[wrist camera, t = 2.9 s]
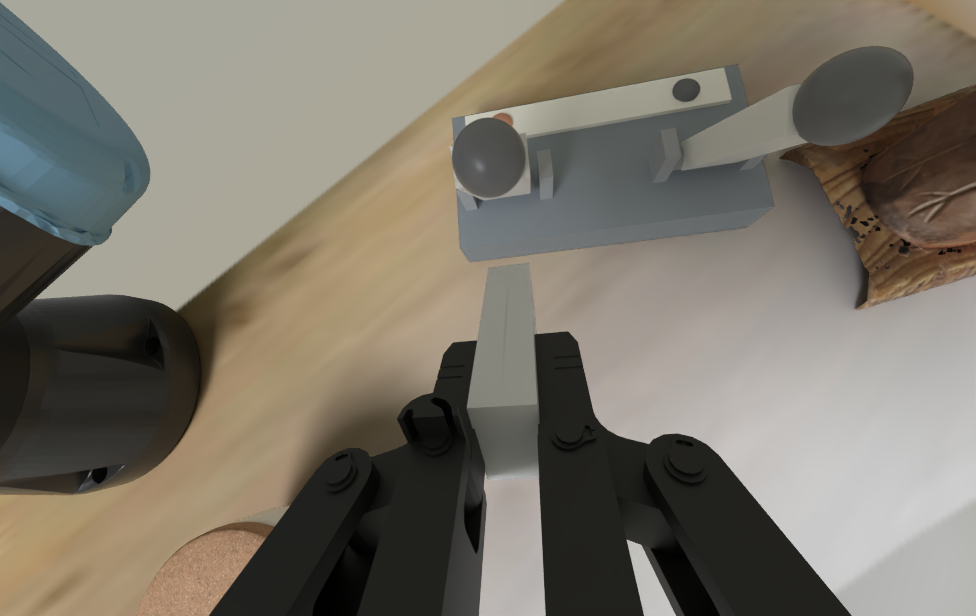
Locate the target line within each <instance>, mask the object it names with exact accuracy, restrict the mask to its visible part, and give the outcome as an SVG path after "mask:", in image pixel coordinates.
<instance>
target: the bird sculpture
mask: <svg viewBox="0 0 976 616" xmlns="http://www.w3.org/2000/svg"><path fill="white" fill-rule="evenodd" d="M864 150H869V151H866V152H864ZM877 153H878V154H877ZM875 154H877V155H875ZM872 155H874V156H873V157H872V158H869V156H872ZM780 159H783V160H791V161H794V162H796V163H799V164H801V165H804V166H807V167H809V168H811V169H812V170H813V171H814V174H815V176H816V177H818V178H820V183H821V186H822V188H823V190H824V191H825V192H826V195H827V196H828V199H829V200H830V202H831V205H832V206H833V208H834V211H835V212H836V213H837V214H838V215H840V216H839V218H840V220H841V221H840V222H841V223H842V224H843V225H844V228H847V227H849V226H853V228H854V230H857V231H858V232H859V234H860V235H859V236H862V234H865V235H866V237H865V238H864V239H863V238H859V237H858V238H857V239H859V240H860V241H861V242H860V243H857V242H856V241H854V243H856V245H854V246H855V247H856V249H857V251H859V255H860V258H861V260H862V262H863V265H864V267H866V269H867V270H868V271H869V283H868V294H867V301H866V302H865V303H864V304H862V305H861V306H860V307H859V308H857V309H856V310H860V309H864V308H868V307H871V306H874V305H877V304H880V303H883V302H887V301H890V300H894V299H897V298H900V297H904V296H907V295H911V294H914V293H918V292H920V291H923V290H927V289H930V288H933V287H937V286H940V285H944V284H947V283H951V282H954V281H958V280H961V279H964V278H966V277H969V276H973V275H976V85H973V86H970V87H967V88H964V89H960V90H958V91H956V92H954V93H950V94H948V95H945V96H943V97H940V98H937V99H935V100H932V101H929V102H926V103H924V104H921V105H918V106H916V107H913V108H911V109H908V110H905V111H903V112H900V113H897V115H896V116H895V117H894V118H893V119H891V120H890V121H889V122H888V123H887V124H886V125H884V126H883V127H882V128H880V129H879V130H877V131H876V132H874V133H872V134H871V135H869V136H867V137H864V138H862V139H860V140H857V141H854V142H851V143H848V144H843V145H837V146H821V145H816V144H812V143H810V144H807V145H804V146H802V147H799V148H796V149H793V150H790V151H788V152H786V153H785V154H784V155H783V156H782V157H780ZM866 163H868V164H867V166H865V167H863V168H864V170H860V167H861V166H864V165H865V164H866ZM837 201H839V202H840V205H841V204H842V205H843V207H844V210H842V209H841V208H840V205H836V204H835V202H837ZM867 201H868V202H867ZM849 205H851V207H852V211H851V212H852V213H851V214H850V215H849V216H850V217H849V218H845V217H844V216H845V215H846V212H847V207H848V206H849ZM855 207H856V208H859V209H858V210H856V208H855ZM849 212H850V211H849ZM874 215H877V216H878V217H879V218H878V219H875V218H876V217H874ZM852 217H856V218H857V219H858V221H856V223H855V224H851V221H852V219H853V218H852ZM842 218H844V220H843V219H842ZM867 218H869V219H870V218H874V220H873V221H870V220H867ZM860 221H862V222H863V221H867V222H868V223H869V226H867V227H866V226H864V225H862V224H861V223H860ZM874 225H876V227H877V226H879V227H880V228H881V231H875V229H876V227H873V226H874ZM868 231H871V232H869V233H868ZM853 239H854V238H853ZM901 239H904V240H905V241H906V242H907V243H908V242H909V243H910V244H911V245H910V246H908V247H906V246H904V245H903V241H902V240H901ZM854 240H855V239H854ZM889 244H893V246H892V247H889ZM966 244H967V245H966ZM961 245H965V246H961ZM947 248H952V249H954V250H958V249H960V251H959V252H957V251H955V252H954V251H953V252H952V253H951V252H947ZM940 251H943V255H938V254H939V252H940ZM876 266H877V267H878V269H877V268H876ZM886 267H887V269H886Z"/></svg>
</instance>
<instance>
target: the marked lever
mask: <svg viewBox="0 0 976 616" xmlns="http://www.w3.org/2000/svg"><path fill="white" fill-rule="evenodd" d="M450 151H451V158H452V165H453V171H454V178H455V185H456V189H459V190H461V191H463V192H466V193H468V194H470V195H473V196H475V197H477V198H479V199H480V200H491V199H498V198H504V197H511V196H517V195H524V194H530V192H535V185H534V175H533V168H532V169H530V167H529V157H528V147H527V137H526V132H525V133H519V134H518V132H517V131H516V130H515V129H514V128H513V127H512V126H511V125H510V124H508V123H507V122H505V121H503V120H500V119H497V118H488V117H487V118H481V119H477V120H475V121H473V122H471V123H469V124H468V125H467V126H466V127H465V128H464V129H463V130H462V131H461V132H460V133H459V135H458V137H457V138H456V140H455V143H454V145H452V146H450Z"/></svg>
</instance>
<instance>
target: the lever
mask: <svg viewBox="0 0 976 616" xmlns="http://www.w3.org/2000/svg"><path fill="white" fill-rule="evenodd" d="M913 78H914V76H913V69H912V66H911V64H910V62H909V61H908V59H907V58H906V57H905V56H904V55H903V54H901V53H900V52H898V51H896V50H894V49H891V48H888V47H881V46H869V47H861V48H857V49H853V50H850V51H847V52H844V53H842V54H840V55H837V56H836V57H834V58H832V59H830V60H828V61H827V62H825V63H824V64H822V65H821V66H820V67H818V68H817V69H816V70H815V71H814V72H812V73H811V74H810V75H809V76H808V77H807V79H806V80H805V81H804V82H803V83H802V84H796V85H791V86H788V87H786V88H784V89H782V90H780V91H778V92H776V93H774V94H772V95H770V96H768V97H766V98H765V99H763V100H761V101H759V102H757V103H755V104H753V105H751V106H749V107H747V108H745V109H743V110H742V111H740V112H738V113H736V114H734V115H732V116H730V117H728V118H726V119H724V120H722V121H720V122H719V123H717V124H715V125H713V126H711V127H709V128H707V129H705V130H703V131H701V132H699V133H698V134H696V135H694V136H692V137H690V138H688V139H686V140H684V141H682V142H681V145H679V147H680V152H681V157H680V159H679V161H678V162H677V164H676V166H675V167H674V169H673V171H674V170H681V171H683V170H690V169H696V168H703V167H710V166H716V165H723V164H729V163H736V162H740V161H743V160H747V159H750V158H754V157H757V156H761V155H764V154H768V153H771V152H775V151H778V150H782V149H785V148H789V147H793V146H796V145H800V144H803V143H807V142H809V143H812V144H816V145H821V146H837V145H843V144H848V143H851V142H854V141H857V140H860V139H862V138H864V137H867V136H869V135H871V134H872V133H874V132H876V131H877V130H879V129H880V128H882V127H883V126H884V125H886V124H887V123H888V122H889V121H890V120H891V119H893V118H894V117H895V116H896V115H897V113H898V112H899V111H900V110H901V108H902V107H903V106H904V104H905V103H906V101H907V99H908V97H909V95H910V93H911V90H912V86H913Z"/></svg>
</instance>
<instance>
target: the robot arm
mask: <svg viewBox="0 0 976 616" xmlns="http://www.w3.org/2000/svg"><path fill="white" fill-rule="evenodd" d="M149 181H150V167H149V162H148V159H147V157H146V154H145V152H144V150H143V147H142V146H141V144H140V142H139V141H138V139H137V138H136V136H135V135H134V133H133V132H132V130H131V129H130V128H129V126H128V125H127V124H126V122H125V121H124V120H123V119H122V118H121V116H120V115H119V114H118V113H117V112H116V111H115V109H114V108H113V107H112V106H111V105H110V104H109V103H108V102H107V101H106V100H105V98H104V97H103V96H102V95H101V94H100V93H99V92H98V91H97V90H96V89H95V88H94V87H93V86H92V85H91V84H90V83H89V82H88V81H87V80H86V79H85V78H84V77H83V76H82V75H81V74H80V73H79V72H78V71H77V70H76V69H75V68H74V67H73V66H72V65H70V64H69V63H68V62H67V61H66V60H65V59H64V58H63V57H62V56H61V55H60V54H59V53H58V52H57V51H55V50H54V49H53V48H52V47H51V46H50V45H49V44H48V43H46V41H44V40H43V39H42V38H41V37H40V36H39V35H37V34H36V33H35V32H34V31H33V30H32V29H31V28H30V27H28V26H27V25H26V24H25V23H24V22H23V21H22V20H20V19H19V18H18V17H17V16H16V15H14V14H13V13H12V12H11V11H10V10H9V9H7V8H6V7H5V6H4V5H3V4H1V3H0V495H77V494H85V493H90V492H95V491H99V490H102V489H106V488H110V487H114V486H118V485H122V484H125V483H128V482H131V481H133V480H135V479H137V478H139V477H141V476H143V475H145V474H146V473H148V472H149V471H150V470H152V469H153V468H154V467H156V466H157V465H158V464H159V463H160V462H161V461H162V460H163V459H164V458H165V457H166V456H167V455H168V454H169V453H170V451H171V450H172V449H173V448H174V446H175V445H176V443H177V442H178V440H179V439H180V437H181V436H182V434H183V432H184V430H185V429H186V426H187V424H188V422H189V420H190V418H191V415H192V412H193V410H194V406H195V403H196V399H197V395H198V389H199V380H200V363H199V355H198V350H197V346H196V342H195V339H194V337H193V334H192V332H191V330H190V329H189V327H188V325H187V324H186V322H185V321H184V320H183V319H182V318H181V316H180V315H179V314H177V313H176V312H175V311H174V310H173V309H171V308H169V307H168V306H166V305H164V304H162V303H159V302H155V301H152V300H146V299H141V298H135V297H130V296H124V295H95V296H79V297H65V298H49V299H35V298H36V297H37V296H38V295H39V294H40V293H41V292H42V291H43V290H44V289H46V288H47V287H48V286H49V285H50V284H51V283H52V282H53V281H55V280H56V279H57V278H58V277H59V276H60V275H61V274H63V273H64V272H65V271H66V270H67V269H68V268H69V267H70V266H71V265H72V264H74V263H75V262H76V261H77V260H78V259H79V258H80V257H81V256H83V254H85V253H86V252H87V251H88V250H89V249H90V248H92V247H93V246H94V245H100V244H102V243H103V242H105V241H106V240H107V239H108V238H109V236H110V235H111V233H112V226H113V225H114V224H115V223H116V222H117V221H118V220H119V219H120V218H121V216H123V215H124V214H125V212H127V210H128V209H129V208H130V207H131V206H132V205H133V204H134V203H135V202H136V201H137V200H138V199H139V198H140V197H141V196H142V195H143V194H144V192H145V191H146V189H147V187H148V184H149ZM437 378H438V380H436V384H435V388H434V392H433V393H431V394H426V395H422V396H420V397H418V398H416V399H414V400H412V401H411V402H410V403H409V404H407V405H406V406H405V407H404V408H403V409H402V411H401V413H400V414H399V416H398V418H397V420H398V422H399V424H400V426H401V428H402V430H403V433H404V435H405V437H406V439H407V441H408V443H407V444H405V445H404V446H401V447H399V448H397V449H395V450H392V451H389V452H386V453H383V454H380V455H377V456H374V457H371V458H370V456H369V454H368V453H367V452H366V451H364V450H362V449H360V448H349V449H346V450H343V451H340V452H337V453H336V454H334V455H333V456H331V457H330V458H328V459H327V460H326V461H325V462H324V463H323V464H322V465H321V466H320V467H319V468H318V469H317V470H316V472H315V473H314V474H313V476H312V477H311V478H310V480H309V481H308V482H307V484H306V485H305V486H304V488H303V489H302V490H301V492H300V493H299V495H298V496H297V497H296V499H295V500H294V501H293V503H292V504H291V505H290V507H289V508H288V509H287V511H286V512H285V513H284V515H283V516H282V517H281V519H280V520H279V521H278V523H277V524H276V525H275V527H274V528H273V530H272V531H271V532H270V534H269V535H268V536H267V538H266V539H265V540H264V542H263V543H262V544H261V546H260V547H259V548H258V550H257V551H256V552H255V554H254V555H253V556H252V558H251V559H250V561H249V562H248V563H247V565H246V566H245V567H244V569H243V570H242V571H241V573H240V574H239V575H238V577H237V578H236V579H235V581H234V582H233V583H232V585H231V586H230V587H229V589H228V590H227V592H226V593H225V594H224V596H223V597H222V598H221V600H220V601H219V602H218V604H217V605H216V606H215V608H214V609H213V610H212V612H211V613H210V614H209V616H479V603H480V589H481V576H482V562H483V548H484V534H485V520H486V506H487V503H486V495H485V491H484V476H485V472H486V475H487V479H488V480H512V479H539V485H540V506H541V526H542V547H543V567H544V588H545V609H546V616H644V614H643V609H642V605H641V601H640V596H639V592H638V588H637V583H636V579H635V575H634V570H633V566H632V562H631V557H630V553H629V549H628V544H627V540H630V541H632V542H635V543H638V544H641V545H642V547H643V549H644V551H645V553H646V555H647V557H648V559H649V561H650V563H651V565H652V567H653V569H654V571H655V573H656V575H657V577H658V580H659V582H660V584H661V586H662V588H663V590H664V592H665V594H666V596H667V598H668V600H669V602H670V604H671V606H672V608H673V610H674V612H675V614H676V616H851V614H850V613H849V612H848V611H847V610H846V608H845V607H844V606H843V605H842V603H841V602H840V601H839V600H838V599H837V597H836V596H835V595H834V594H833V593H832V591H831V590H830V589H829V588H828V587H827V585H826V584H825V583H824V582H823V581H822V579H821V578H820V577H819V576H818V574H817V573H816V572H815V571H814V570H813V568H812V567H811V566H810V565H809V564H808V562H807V561H806V560H805V559H804V558H803V556H802V555H801V554H800V553H799V552H798V550H797V549H796V548H795V547H794V545H793V544H792V543H791V542H790V541H789V539H788V538H787V537H786V536H785V535H784V533H783V532H782V531H781V530H780V529H779V527H778V526H777V525H776V524H775V523H774V521H773V520H772V519H771V518H770V516H769V515H768V514H767V513H766V512H765V510H764V509H763V508H762V507H761V506H760V504H759V503H758V502H757V501H756V500H755V498H754V497H753V496H752V495H751V494H750V492H749V491H748V490H747V489H746V487H745V486H744V485H743V484H742V483H741V481H740V480H739V479H738V478H737V477H736V475H735V474H734V473H733V472H732V471H731V469H730V468H729V467H728V466H727V465H726V463H725V462H724V461H723V460H722V458H721V457H720V456H719V455H718V454H717V453H716V452H715V451H713V450H712V449H711V448H710V447H709V446H708V445H707V444H705V443H703V442H701V441H699V440H697V439H695V438H693V437H690V436H686V435H681V434H665V435H662V436H660V437H658V438H656V439H653V440H652V442H651V443H650V444H646V443H642V442H638V441H634V440H630V439H626V438H623V437H620V436H617V435H615V434H614V433H612V432H610V431H608V430H607V429H606V428H605V427H604V426H602V425H601V424H600V422H599V421H598V420H597V418H596V417H595V414H594V412H593V408H592V404H591V399H590V395H589V390H588V386H587V381H586V377H585V373H584V369H583V364H582V359H581V355H580V350H579V346H578V342H577V341H576V340H575V339H574V337H573V336H572V335H571V334H570V333H569V332H557V333H545V334H537V330H536V318H535V310H534V301H533V292H532V284H531V275H530V266H529V263H525V264H517V265H509V266H500V267H492V268H489V269H488V275H487V282H486V288H485V294H484V301H483V307H482V314H481V320H480V326H479V333H478V339H477V341H466V342H454V343H452V344H451V346H450V347H449V348H448V349H447V351H446V352H445V353H444V355H443V358H442V362H441V366H440V369H439V373H438V377H437ZM626 539H627V540H626Z"/></svg>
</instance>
